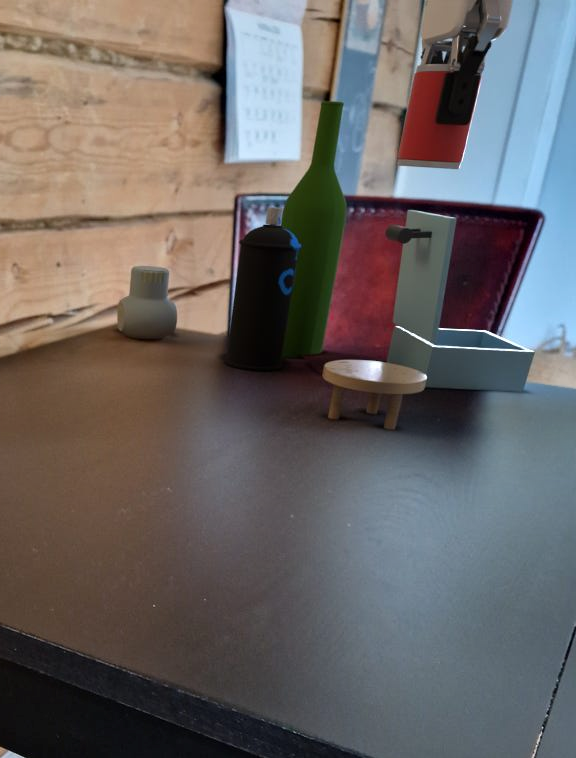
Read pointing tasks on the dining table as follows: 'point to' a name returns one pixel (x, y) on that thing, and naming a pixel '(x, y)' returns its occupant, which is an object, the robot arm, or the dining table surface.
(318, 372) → the dining table surface
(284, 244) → the aerosol can
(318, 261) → the wine bottle
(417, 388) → the stool
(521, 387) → the pale blue open box
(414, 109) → the drink can
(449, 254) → the lid
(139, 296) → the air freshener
